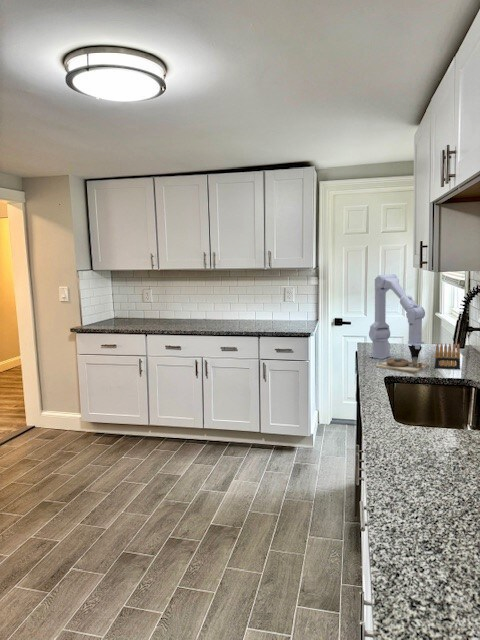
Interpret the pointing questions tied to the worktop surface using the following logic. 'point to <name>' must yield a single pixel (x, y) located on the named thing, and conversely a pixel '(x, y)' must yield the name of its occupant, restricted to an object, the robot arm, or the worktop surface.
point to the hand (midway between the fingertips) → (414, 360)
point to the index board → (404, 367)
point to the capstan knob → (401, 362)
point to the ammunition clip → (445, 361)
